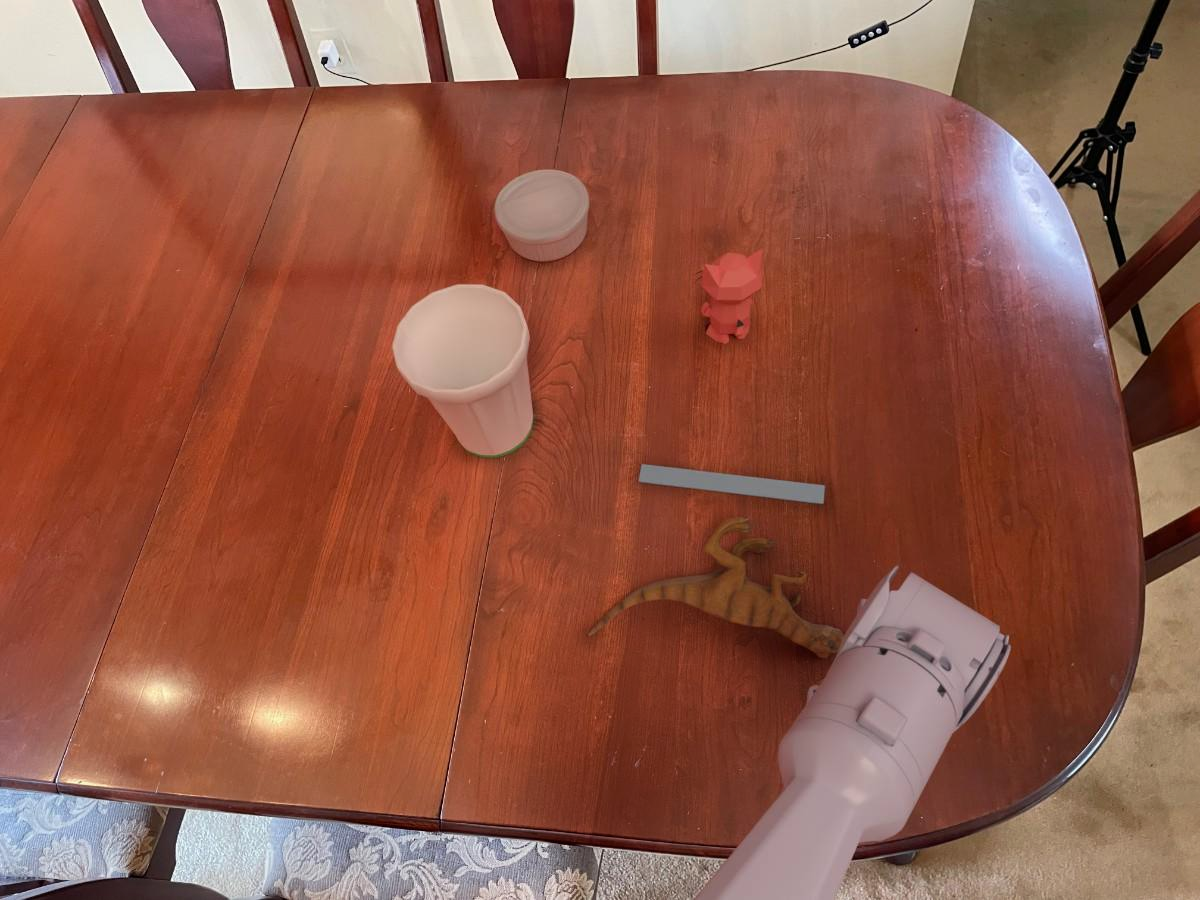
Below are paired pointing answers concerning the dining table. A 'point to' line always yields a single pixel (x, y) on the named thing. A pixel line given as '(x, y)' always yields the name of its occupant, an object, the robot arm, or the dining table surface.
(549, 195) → the ramekin
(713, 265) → the cat figurine
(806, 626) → the dinosaur figurine
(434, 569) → the dining table surface
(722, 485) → the tape line
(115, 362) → the dining table surface
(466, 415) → the cup
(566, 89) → the dining table surface
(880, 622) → the robot arm
